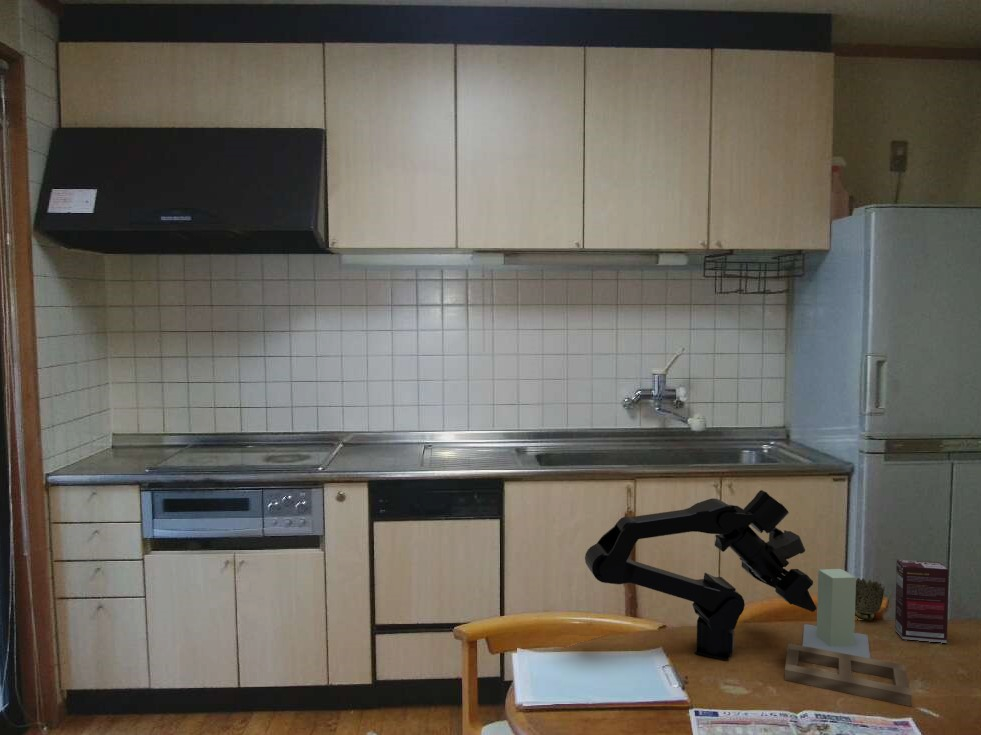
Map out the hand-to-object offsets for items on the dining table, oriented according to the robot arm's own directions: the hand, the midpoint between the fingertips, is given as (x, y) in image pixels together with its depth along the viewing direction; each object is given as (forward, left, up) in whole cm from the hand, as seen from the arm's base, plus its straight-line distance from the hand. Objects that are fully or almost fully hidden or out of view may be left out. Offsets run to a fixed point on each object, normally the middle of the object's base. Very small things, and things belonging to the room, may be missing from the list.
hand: (801, 600), depth 140 cm
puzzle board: (+8, -10, -10) cm, 16 cm away
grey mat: (+6, +4, -10) cm, 12 cm away
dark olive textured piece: (+12, +22, -10) cm, 27 cm away
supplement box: (+22, +16, -10) cm, 29 cm away
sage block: (+6, +4, -9) cm, 12 cm away
